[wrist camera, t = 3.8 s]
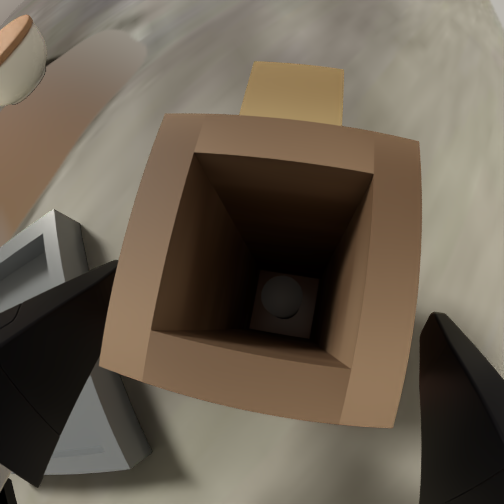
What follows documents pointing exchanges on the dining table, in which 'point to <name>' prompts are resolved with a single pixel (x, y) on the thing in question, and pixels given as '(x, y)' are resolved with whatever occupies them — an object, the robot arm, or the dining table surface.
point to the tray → (100, 380)
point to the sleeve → (272, 255)
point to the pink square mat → (284, 304)
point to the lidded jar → (20, 60)
